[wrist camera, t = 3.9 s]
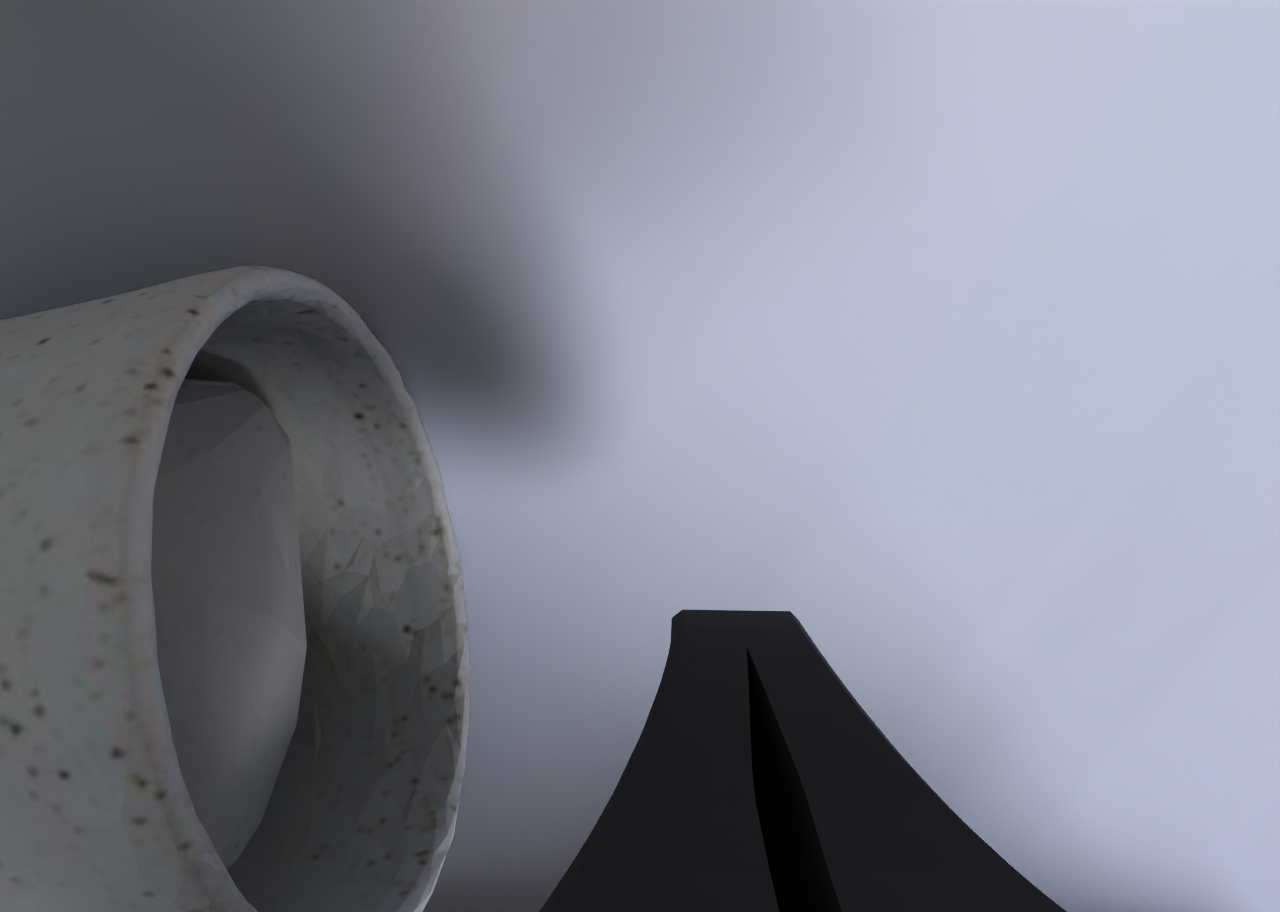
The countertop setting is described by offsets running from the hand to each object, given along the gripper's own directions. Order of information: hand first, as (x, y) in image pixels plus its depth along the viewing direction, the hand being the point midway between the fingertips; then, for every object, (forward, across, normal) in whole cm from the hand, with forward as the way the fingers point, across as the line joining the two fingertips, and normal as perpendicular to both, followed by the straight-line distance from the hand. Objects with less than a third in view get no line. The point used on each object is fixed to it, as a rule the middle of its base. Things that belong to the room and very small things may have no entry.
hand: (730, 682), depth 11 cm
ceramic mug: (+4, +7, +1) cm, 9 cm away
